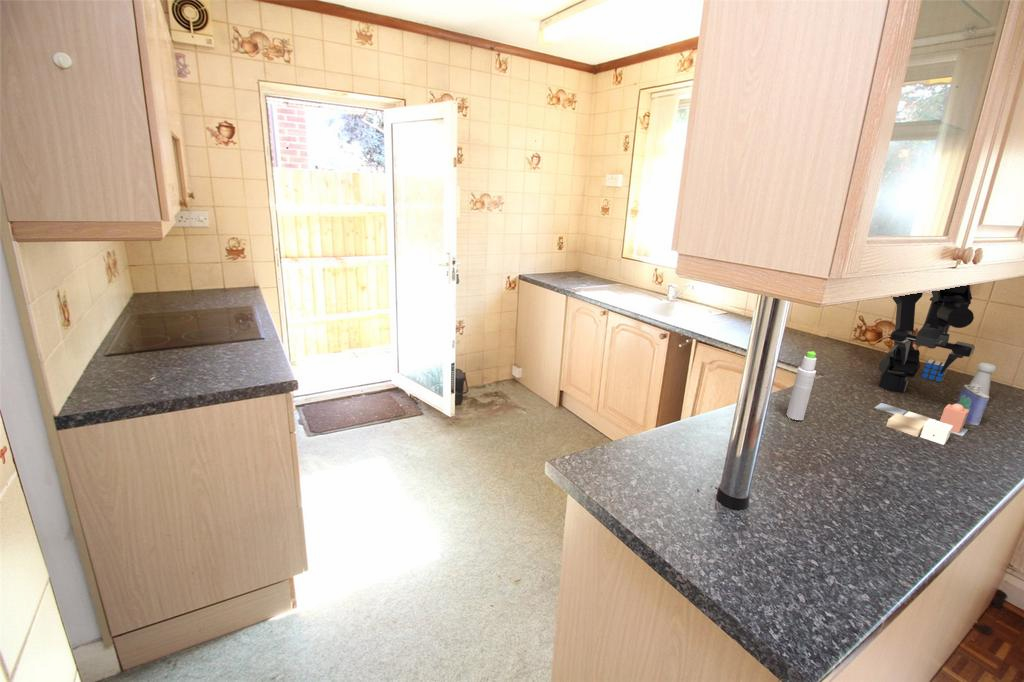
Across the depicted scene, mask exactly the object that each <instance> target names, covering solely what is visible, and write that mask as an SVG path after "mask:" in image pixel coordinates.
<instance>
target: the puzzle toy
mask: <svg viewBox="0 0 1024 682" xmlns="http://www.w3.org/2000/svg"><path fill="white" fill-rule="evenodd" d="M944 364H945V362H942V361H937V360H933V359H927V360H926V362H925V363H924V367H923V369H922V373H921V375H920V378H922V379H926V380H927V379H928V380H930V381H935V382H937V383H938V382H939V383H942V382H943V381H944V379H945V376H946V374H947V371H948V368H947V369H946V370H945V371H944V373H943V374H940V372H941V369H942V367H943V366H944Z"/></svg>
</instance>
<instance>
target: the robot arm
mask: <svg viewBox="0 0 1024 682" xmlns="http://www.w3.org/2000/svg"><path fill="white" fill-rule="evenodd" d="M970 285H971V284H970ZM970 285H967V286H960V287H955V288H950V289H945V290H940V291H932V292H930V293H931V295H932V297H929V301H931V302H930V306H929V309H928V312H927V315H926V318H925V321H924V323H923V325H922V327H921V328H920V329H919V331H918V332H917V333H916V334H915V333H914V332H915V331H914V329H915V316H916V315H915V314H916V304H917V302H918V301H919V300H920V299H921V298H922V297H923V295H924V292H923V293H917V294H910V295H905V296H899V297H893V298H892V297H891V298H892V300H893V301H894V303H895V304H896V313H895V327H894V329H895V330H893V331H892V332H891V333H890V335H889V340H892V341H894V342H893V347H891V348H890V350H888V352H887V354H886V357H885V358H884V359H883V360H882V361H880V362H879V364H878V371H880V372H881V377H880V380H879V382H878V388H881V389H883V390H885V391H889V392H892V393H893V392H894V393H898V394H904V393H905V392H906V390H907V387H908V384H909V380H908V378H912V379H914V377H915V376H916V374H917V372H918V371H919V369H920V367H921V362H920V355H921V354H920V353H921V352H920V351H919V350H918V349H915V347H914V346H913V343H914V345H916V346H918V347H920V346H921V347H924V348H925V347H926V348H928V349H931V350H933V349H936V348H937V347H938V348H941V349H942V348H943V349H945V350H946V349H947V350H951V352H950V353H949V354H948V355H947V358H946V360H945V362H944V363H945V364H944V366H943V367H942V369H941V372H940V374H943V373H944V371H945V370H946V369H947V370H948V369H949V367H950V366H951V365H952V364H953V363H954V362H955V361H956V360H957V359H963V358H964V357H971V356H972V355H973V354H974V352H975V349H976V346H975V345H974V344H972V343H968V342H963V341H956V342H954V343H953V342H949V341H950V340H949V339H950V337H951V336H950V335H951V334H950V333H948V332H949V329H950V327H953V328H956V329H961V328H962V329H963V328H966V327H969V326H970V325H971V324H972V323H973V321H974V320H975V319H974V318H975V317H974V313H973V311H972V310H971V309H969V306H970V305H971V304H972V299H973V296H972V292H971V286H970Z"/></svg>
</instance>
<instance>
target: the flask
mask: <svg viewBox="0 0 1024 682" xmlns="http://www.w3.org/2000/svg"><path fill="white" fill-rule="evenodd" d="M973 385H974V383H973V384H972V386H971V385H969V384H964V385H962V388H961V390H960V393H959V396H958V398H957V401H956V402H955V404H960V405H962V406H963V407H964V409H968V410H969V413H968V415H967V418H966V421H965V422H967V423H969V424H970V425H973V426H974V425H976V426H979V425H980V423H981V422H982V421H981V420H982V418H983V415H984V413H985V410H986V407H987V406H988V402H989V401H990V398H991V397H990V395H989V396H987V395H985V394H983V393H981V392H980V391H979V390H980V388H982V386H981V385H980V386H979V385H978V384H975V385H974V387H973Z"/></svg>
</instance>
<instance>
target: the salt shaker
mask: <svg viewBox="0 0 1024 682" xmlns="http://www.w3.org/2000/svg"><path fill="white" fill-rule="evenodd" d="M977 370H978V371H977V372H976V373H975V375H974V377H973V378H972V379H971V381H970V382H969V384H968V385H971V386H972V384H973V383H974V385H975V384H978V385H979V386H980V385H981V386H982V388H980V390H979V391H980V392H981V393H983V394H985V395H987V396H989V397H990V389H991V380H992V374H993V373H995V372H996V371H997V366H995V365H994V364H992V363H988V362H980V363H978V364H977ZM974 385H973V387H974Z"/></svg>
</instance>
